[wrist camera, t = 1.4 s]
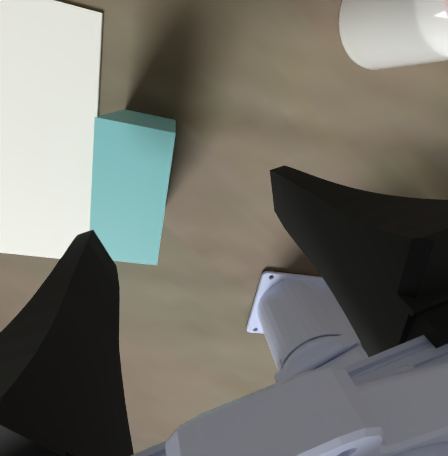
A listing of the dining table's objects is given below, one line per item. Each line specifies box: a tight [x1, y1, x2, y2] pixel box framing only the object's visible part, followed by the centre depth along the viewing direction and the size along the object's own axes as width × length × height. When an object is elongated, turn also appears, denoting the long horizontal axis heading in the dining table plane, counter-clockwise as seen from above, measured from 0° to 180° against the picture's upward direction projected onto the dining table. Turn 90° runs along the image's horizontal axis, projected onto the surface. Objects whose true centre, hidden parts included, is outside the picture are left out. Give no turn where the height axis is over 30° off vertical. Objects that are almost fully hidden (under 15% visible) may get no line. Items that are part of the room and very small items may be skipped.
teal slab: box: [90, 109, 176, 265], centre depth 21 cm, size 4×8×10 cm, turn 168°
